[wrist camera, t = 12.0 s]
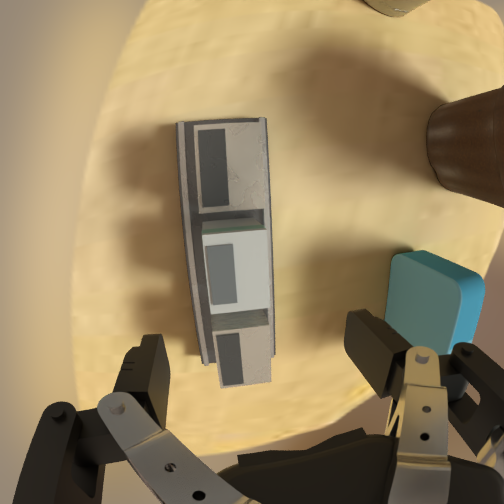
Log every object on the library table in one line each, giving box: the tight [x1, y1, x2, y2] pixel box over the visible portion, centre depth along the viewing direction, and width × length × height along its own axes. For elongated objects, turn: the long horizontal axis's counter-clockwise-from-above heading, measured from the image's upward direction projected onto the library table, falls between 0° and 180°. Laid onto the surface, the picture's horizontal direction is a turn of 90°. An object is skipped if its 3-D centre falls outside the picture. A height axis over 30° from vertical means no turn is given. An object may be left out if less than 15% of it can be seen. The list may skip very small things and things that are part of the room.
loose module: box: [202, 217, 270, 314], centre depth 23 cm, size 6×5×6 cm
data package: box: [384, 250, 485, 355], centre depth 27 cm, size 12×4×12 cm, turn 4°
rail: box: [176, 117, 275, 388], centre depth 24 cm, size 24×8×8 cm, turn 3°
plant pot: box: [427, 85, 504, 208], centre depth 21 cm, size 16×16×16 cm
